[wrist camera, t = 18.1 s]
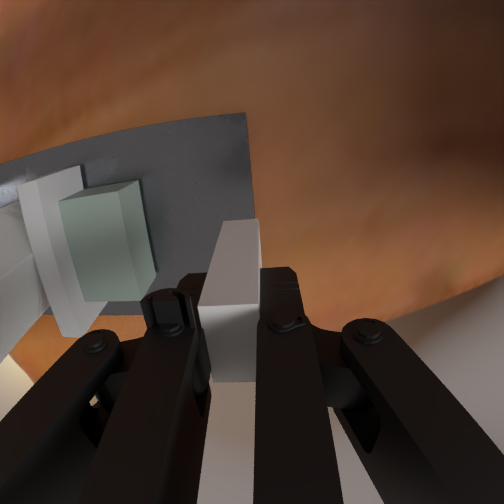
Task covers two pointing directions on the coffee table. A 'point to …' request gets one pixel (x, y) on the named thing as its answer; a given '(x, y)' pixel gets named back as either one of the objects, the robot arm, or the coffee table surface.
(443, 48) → the coffee table surface
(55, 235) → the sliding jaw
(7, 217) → the supplement box
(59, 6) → the coffee table surface
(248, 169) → the vise
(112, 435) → the robot arm
